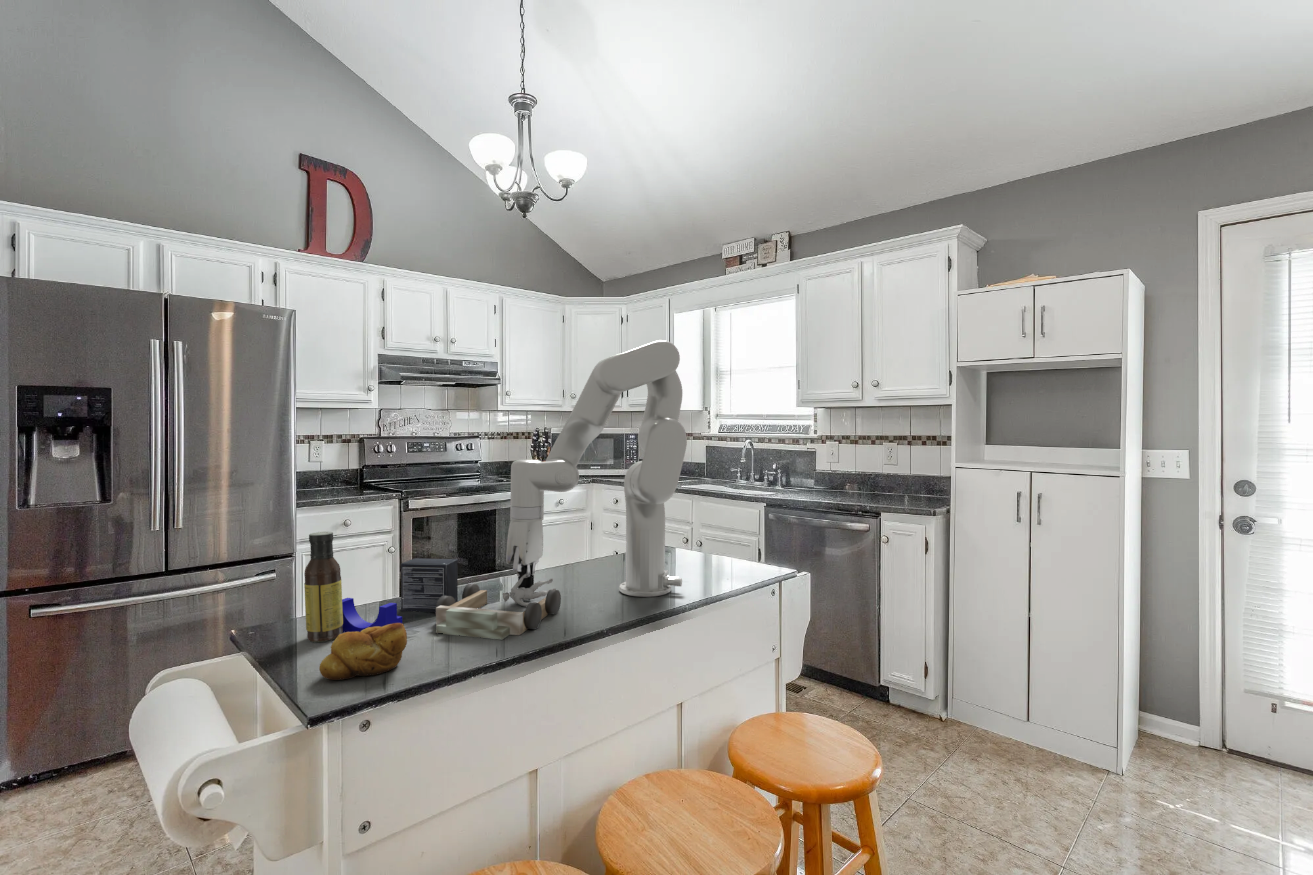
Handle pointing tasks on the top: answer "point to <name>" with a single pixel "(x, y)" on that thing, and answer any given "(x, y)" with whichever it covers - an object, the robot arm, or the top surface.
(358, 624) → the blue cradle block
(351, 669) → the bread roll
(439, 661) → the top surface
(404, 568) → the small box
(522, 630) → the chassis
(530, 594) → the soldier figure
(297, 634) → the top surface
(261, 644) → the top surface
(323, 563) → the sauce bottle
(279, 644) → the top surface
